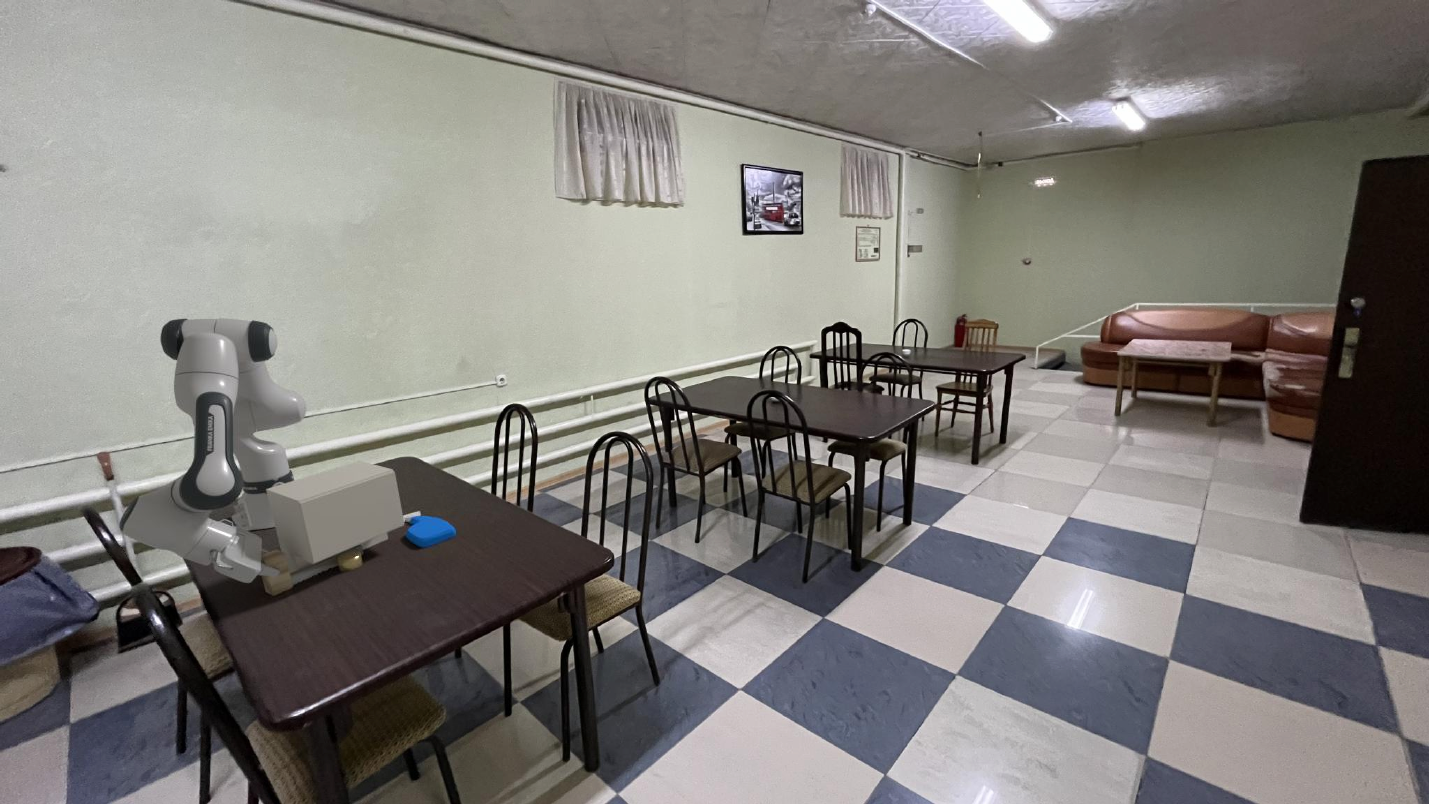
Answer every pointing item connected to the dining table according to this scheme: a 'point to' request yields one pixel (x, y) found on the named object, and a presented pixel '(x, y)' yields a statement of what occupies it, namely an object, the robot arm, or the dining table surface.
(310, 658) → the dining table surface
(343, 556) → the brass puck
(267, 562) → the wooden handled saw
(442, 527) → the spray bottle
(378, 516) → the cabinet
